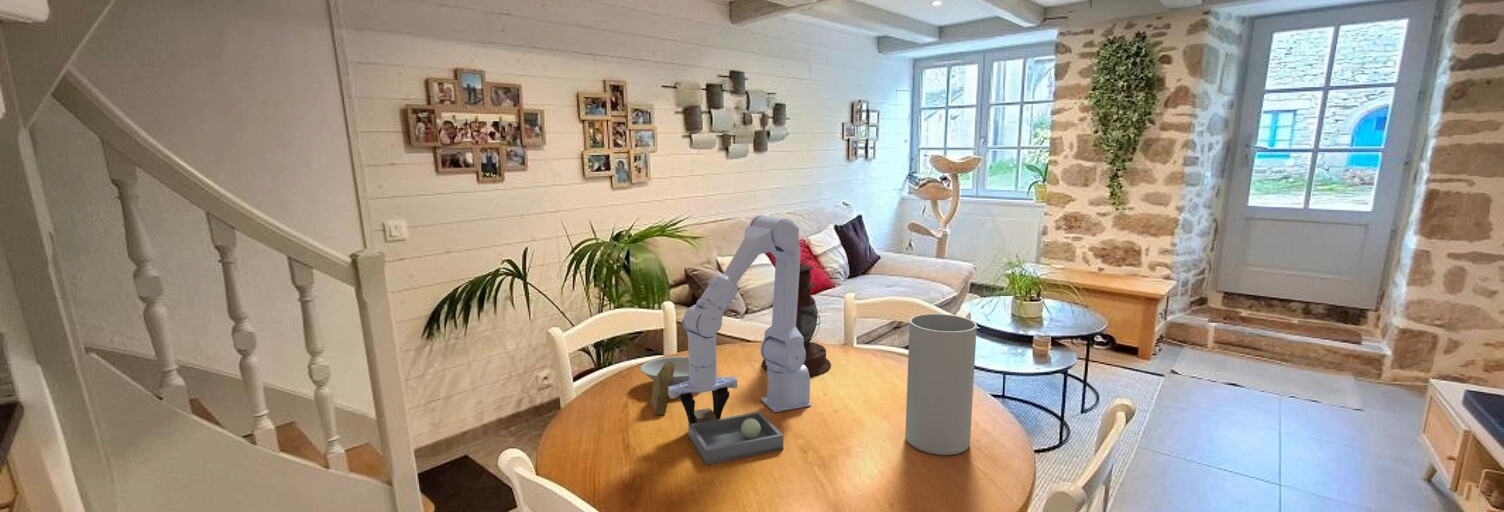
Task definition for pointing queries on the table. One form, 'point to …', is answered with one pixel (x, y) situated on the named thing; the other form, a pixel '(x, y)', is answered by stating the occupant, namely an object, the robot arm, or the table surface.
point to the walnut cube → (704, 415)
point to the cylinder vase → (940, 383)
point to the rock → (662, 388)
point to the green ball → (750, 428)
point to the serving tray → (733, 438)
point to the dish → (656, 365)
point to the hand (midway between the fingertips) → (704, 424)
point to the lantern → (808, 325)
